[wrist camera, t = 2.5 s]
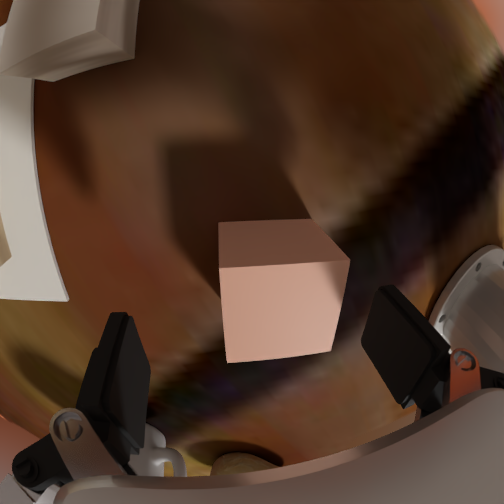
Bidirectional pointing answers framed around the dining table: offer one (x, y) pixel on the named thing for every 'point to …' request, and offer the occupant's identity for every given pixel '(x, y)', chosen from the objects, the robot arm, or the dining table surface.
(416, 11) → the dining table surface
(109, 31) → the birch cube
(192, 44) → the dining table surface
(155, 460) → the mug
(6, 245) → the maple block
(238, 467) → the bread roll
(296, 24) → the dining table surface
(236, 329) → the terracotta cube
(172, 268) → the dining table surface
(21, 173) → the felt mat
